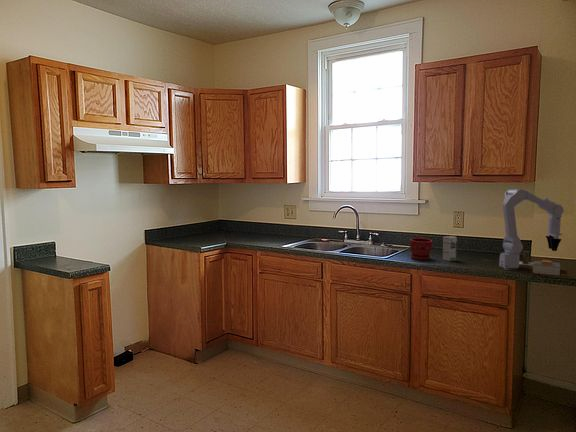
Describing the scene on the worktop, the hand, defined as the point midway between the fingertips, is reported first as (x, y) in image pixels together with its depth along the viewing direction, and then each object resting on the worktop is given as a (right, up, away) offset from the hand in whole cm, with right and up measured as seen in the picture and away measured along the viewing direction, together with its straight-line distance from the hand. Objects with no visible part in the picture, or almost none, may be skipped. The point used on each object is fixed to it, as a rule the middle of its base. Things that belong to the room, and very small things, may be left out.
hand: (552, 249), depth 246 cm
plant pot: (-66, -8, +27) cm, 72 cm away
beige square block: (-11, -9, +7) cm, 16 cm away
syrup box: (-50, -8, +22) cm, 55 cm away
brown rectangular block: (-11, -8, +7) cm, 16 cm away
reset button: (-10, -8, -11) cm, 17 cm away
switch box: (-10, -11, -10) cm, 18 cm away
